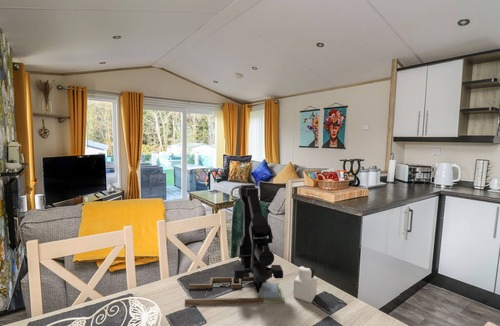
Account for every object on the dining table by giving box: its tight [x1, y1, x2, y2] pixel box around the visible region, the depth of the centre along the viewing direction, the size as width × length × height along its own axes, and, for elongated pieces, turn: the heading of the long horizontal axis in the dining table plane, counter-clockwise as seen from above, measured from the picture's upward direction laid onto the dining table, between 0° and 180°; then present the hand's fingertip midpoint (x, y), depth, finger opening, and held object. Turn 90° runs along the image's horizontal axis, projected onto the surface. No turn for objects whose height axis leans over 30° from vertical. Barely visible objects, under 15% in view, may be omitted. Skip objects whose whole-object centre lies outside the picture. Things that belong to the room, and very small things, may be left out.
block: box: [261, 282, 280, 298], centre depth 101 cm, size 6×6×4 cm
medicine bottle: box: [293, 263, 318, 304], centre depth 102 cm, size 7×7×12 cm
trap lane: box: [184, 276, 285, 305], centre depth 104 cm, size 16×37×2 cm, turn 94°
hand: (257, 292), depth 102 cm, fingers closed
